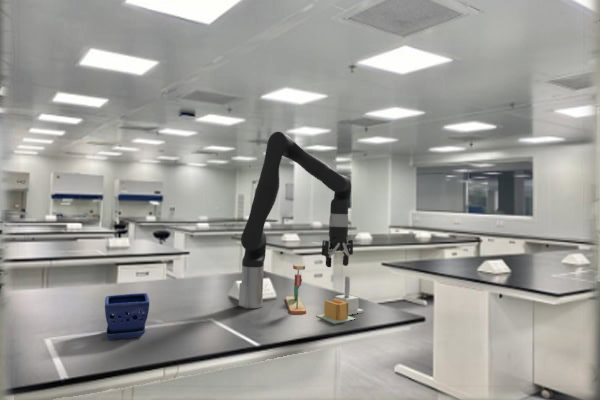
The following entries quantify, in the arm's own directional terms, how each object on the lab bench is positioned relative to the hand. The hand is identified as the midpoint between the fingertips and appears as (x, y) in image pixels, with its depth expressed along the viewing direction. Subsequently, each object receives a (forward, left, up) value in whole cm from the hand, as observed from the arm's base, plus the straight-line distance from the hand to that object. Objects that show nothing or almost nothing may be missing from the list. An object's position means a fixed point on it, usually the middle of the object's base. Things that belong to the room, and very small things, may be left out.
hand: (337, 266), depth 159 cm
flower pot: (-74, +19, -21) cm, 79 cm away
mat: (0, -1, -20) cm, 20 cm away
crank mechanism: (-4, +22, -21) cm, 30 cm away
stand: (+10, +5, -20) cm, 23 cm away
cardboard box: (0, -1, -20) cm, 20 cm away
